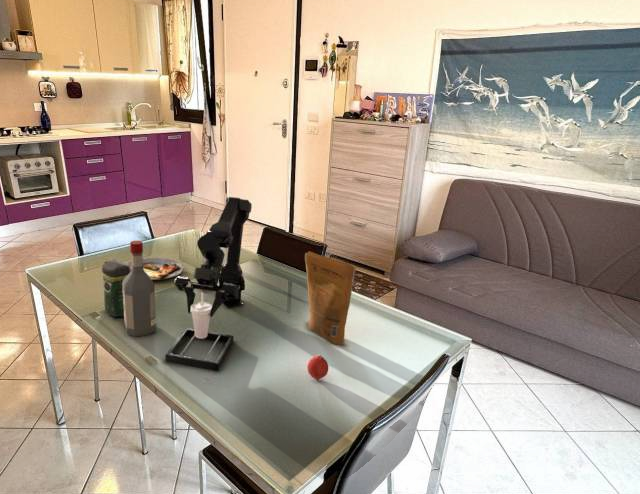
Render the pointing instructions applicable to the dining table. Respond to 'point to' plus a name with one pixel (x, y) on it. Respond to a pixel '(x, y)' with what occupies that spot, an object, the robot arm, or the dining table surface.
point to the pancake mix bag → (328, 295)
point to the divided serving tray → (198, 362)
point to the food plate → (160, 268)
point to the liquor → (138, 296)
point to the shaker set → (224, 256)
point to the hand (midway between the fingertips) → (199, 314)
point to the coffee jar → (114, 286)
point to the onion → (317, 367)
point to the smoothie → (201, 317)
